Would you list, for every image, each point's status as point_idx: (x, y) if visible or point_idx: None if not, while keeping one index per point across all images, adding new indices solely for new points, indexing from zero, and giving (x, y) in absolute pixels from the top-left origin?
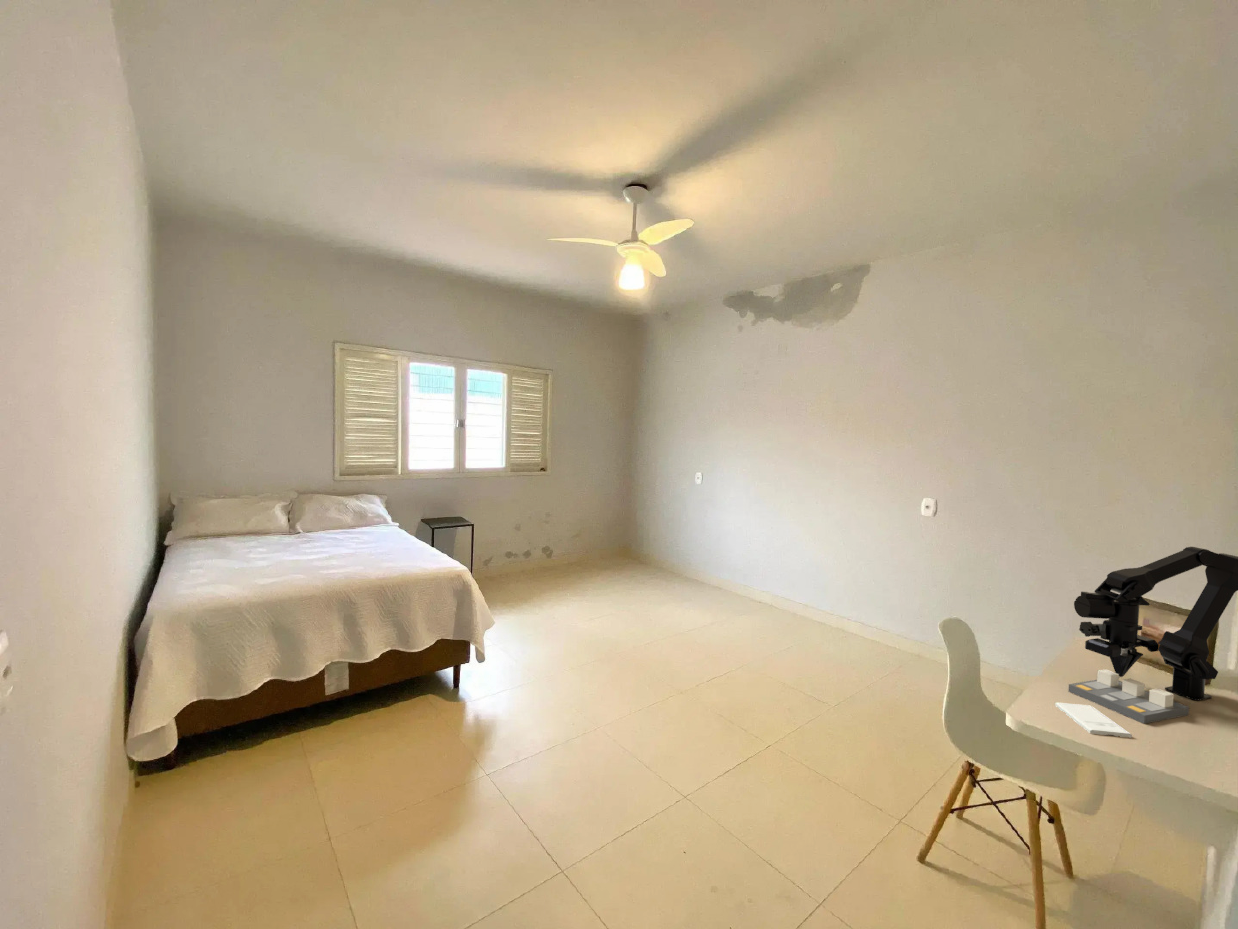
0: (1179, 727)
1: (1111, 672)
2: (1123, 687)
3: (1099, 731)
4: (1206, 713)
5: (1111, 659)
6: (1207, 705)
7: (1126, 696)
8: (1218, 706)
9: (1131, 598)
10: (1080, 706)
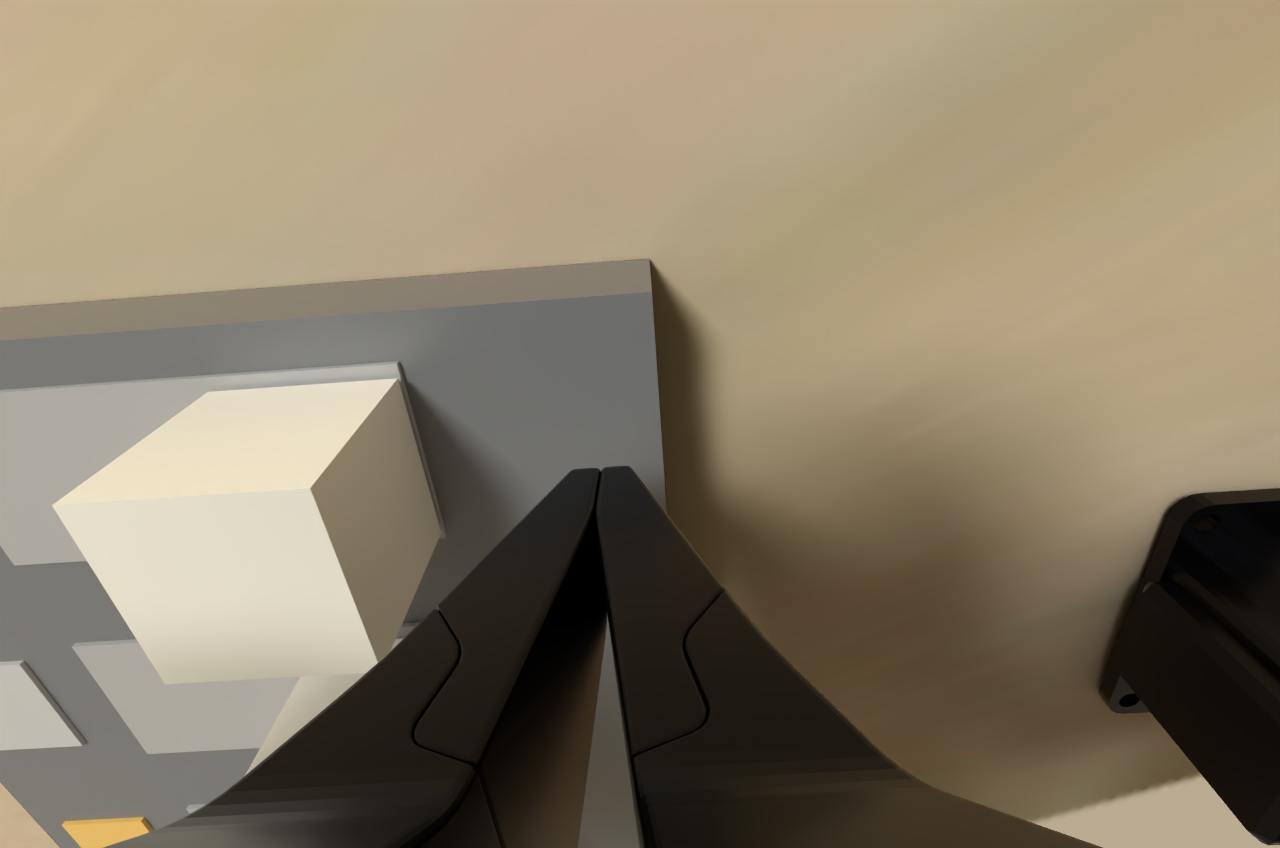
0: None
1: (288, 615)
2: (295, 701)
3: None
4: None
5: (349, 717)
6: (1084, 738)
7: (255, 717)
8: (1150, 757)
9: None
10: None
